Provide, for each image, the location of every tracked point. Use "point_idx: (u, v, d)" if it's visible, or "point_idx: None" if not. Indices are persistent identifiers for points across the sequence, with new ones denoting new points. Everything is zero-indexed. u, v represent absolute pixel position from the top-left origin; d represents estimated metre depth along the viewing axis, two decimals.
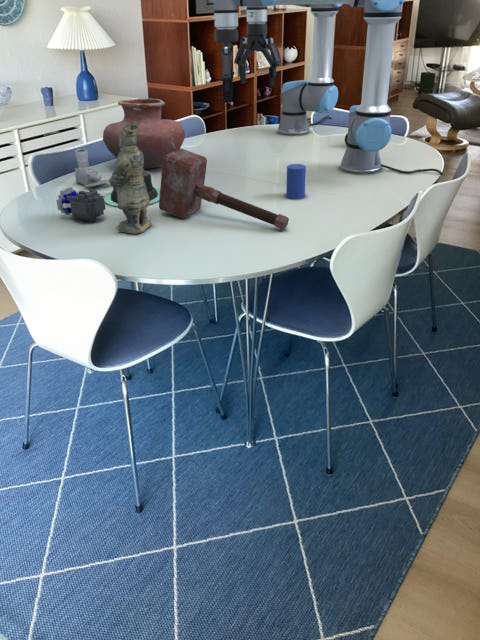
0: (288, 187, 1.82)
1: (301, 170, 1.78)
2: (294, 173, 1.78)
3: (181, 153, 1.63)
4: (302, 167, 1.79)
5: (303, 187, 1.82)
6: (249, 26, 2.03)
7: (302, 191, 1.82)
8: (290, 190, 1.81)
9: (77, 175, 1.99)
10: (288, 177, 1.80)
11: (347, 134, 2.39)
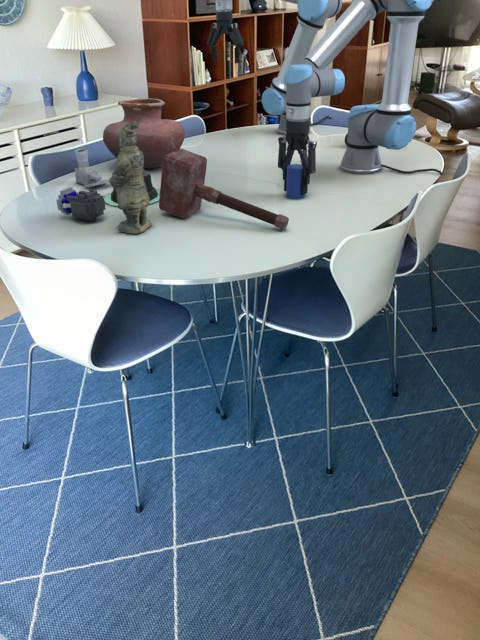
0: (288, 187, 1.82)
1: (301, 170, 1.78)
2: (294, 173, 1.78)
3: (181, 153, 1.63)
4: None
5: None
6: (217, 13, 2.49)
7: None
8: (290, 190, 1.81)
9: (77, 175, 1.99)
10: (288, 177, 1.80)
11: (347, 134, 2.39)
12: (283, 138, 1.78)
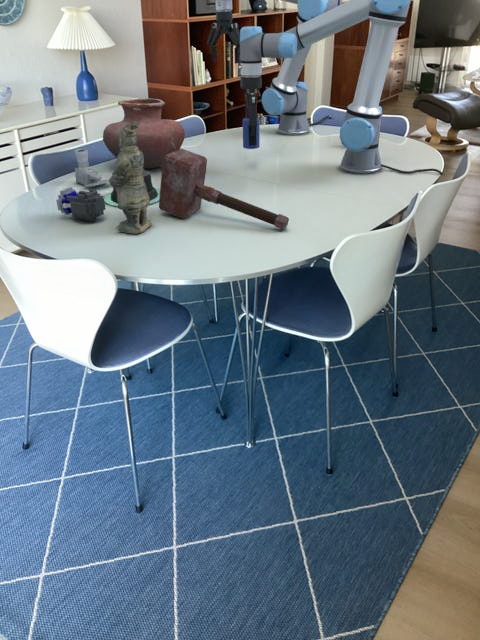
0: None
1: (248, 122, 2.01)
2: (244, 124, 2.02)
3: (181, 153, 1.63)
4: None
5: None
6: (217, 13, 2.49)
7: None
8: (243, 139, 2.06)
9: (77, 175, 1.99)
10: None
11: None
12: None
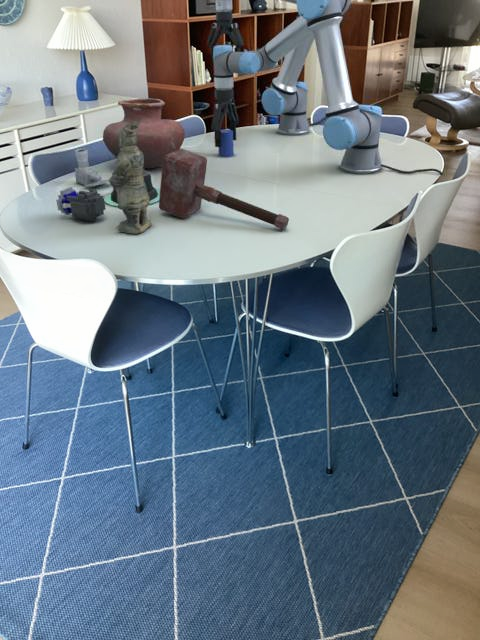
0: None
1: None
2: None
3: (181, 153, 1.63)
4: (223, 132, 2.27)
5: (222, 148, 2.30)
6: (217, 13, 2.49)
7: (221, 151, 2.31)
8: None
9: (77, 175, 1.99)
10: None
11: None
12: None
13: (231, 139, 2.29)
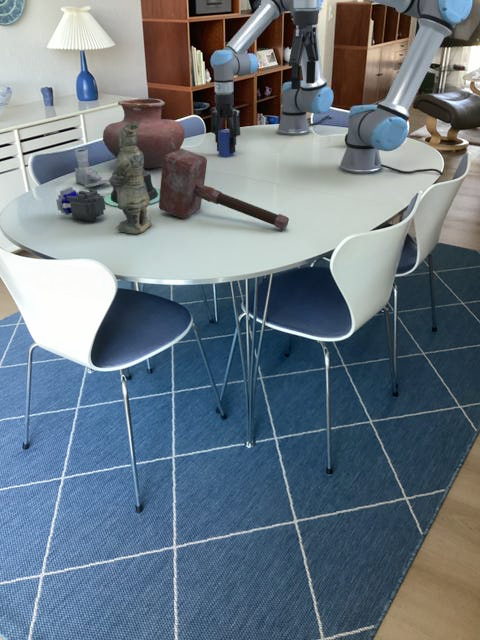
0: None
1: (219, 133, 2.27)
2: (218, 134, 2.30)
3: (181, 153, 1.63)
4: (223, 132, 2.27)
5: (222, 148, 2.30)
6: (217, 96, 2.20)
7: (221, 151, 2.31)
8: None
9: (77, 175, 1.99)
10: None
11: (347, 134, 2.39)
12: None
13: None
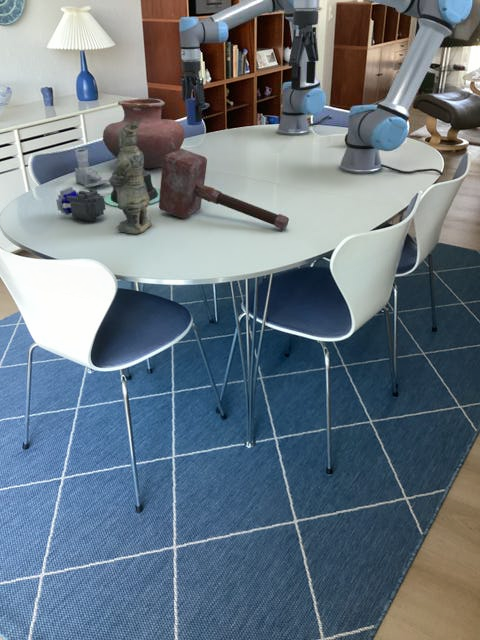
0: None
1: (186, 101, 2.30)
2: None
3: (181, 153, 1.63)
4: (189, 99, 2.29)
5: (189, 116, 2.32)
6: (182, 63, 2.23)
7: (188, 119, 2.33)
8: None
9: (77, 175, 1.99)
10: None
11: (347, 134, 2.39)
12: None
13: None
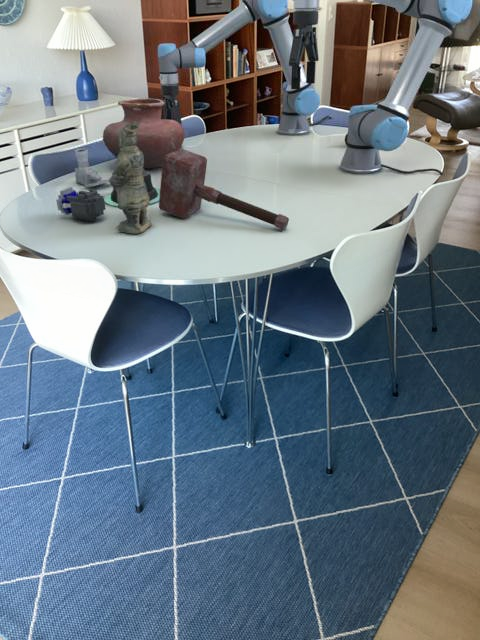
0: None
1: None
2: None
3: (181, 153, 1.63)
4: None
5: None
6: (161, 87, 2.34)
7: None
8: None
9: (77, 175, 1.99)
10: None
11: (347, 134, 2.39)
12: None
13: None
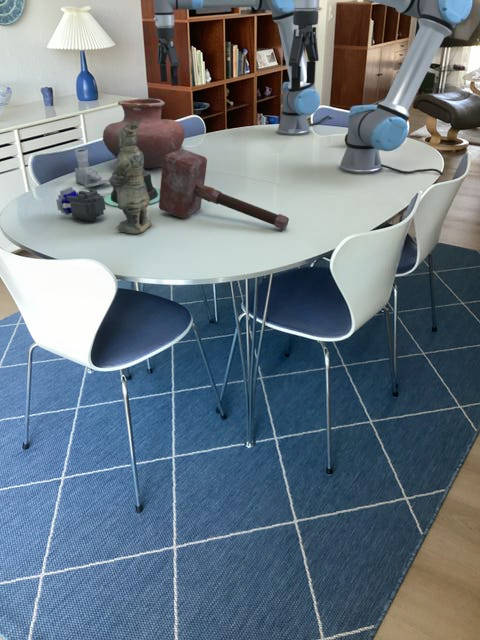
0: None
1: None
2: None
3: (181, 153, 1.63)
4: None
5: None
6: (156, 30, 2.24)
7: None
8: None
9: (77, 175, 1.99)
10: None
11: (347, 134, 2.39)
12: None
13: None
